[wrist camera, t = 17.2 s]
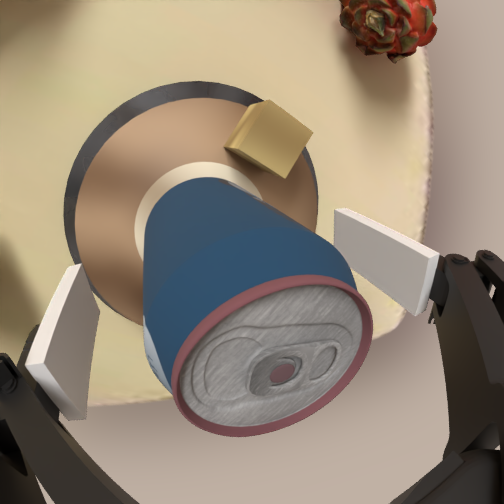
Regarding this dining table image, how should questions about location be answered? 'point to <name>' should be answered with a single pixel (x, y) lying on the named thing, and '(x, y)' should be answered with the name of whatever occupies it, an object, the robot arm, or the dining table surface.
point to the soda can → (246, 310)
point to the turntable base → (124, 116)
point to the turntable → (179, 170)
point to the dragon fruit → (390, 25)
